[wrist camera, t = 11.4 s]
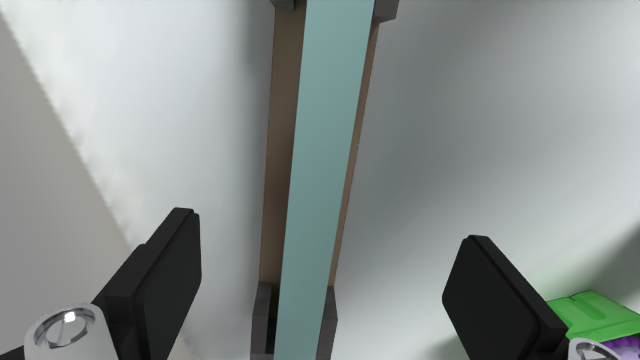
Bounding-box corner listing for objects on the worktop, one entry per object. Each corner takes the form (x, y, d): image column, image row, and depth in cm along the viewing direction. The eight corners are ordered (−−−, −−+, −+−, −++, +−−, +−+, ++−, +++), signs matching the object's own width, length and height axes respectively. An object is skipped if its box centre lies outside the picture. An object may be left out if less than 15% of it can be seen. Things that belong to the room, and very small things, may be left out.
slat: (312, -54, 16) (317, -108, 10) (359, -46, 16) (390, -95, 10) (277, 314, 25) (270, 390, 19) (308, 315, 25) (309, 392, 19)
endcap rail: (393, -74, 16) (419, -109, 12) (325, 322, 26) (328, 366, 23) (283, -93, 16) (277, -135, 12) (257, 318, 26) (249, 363, 22)
